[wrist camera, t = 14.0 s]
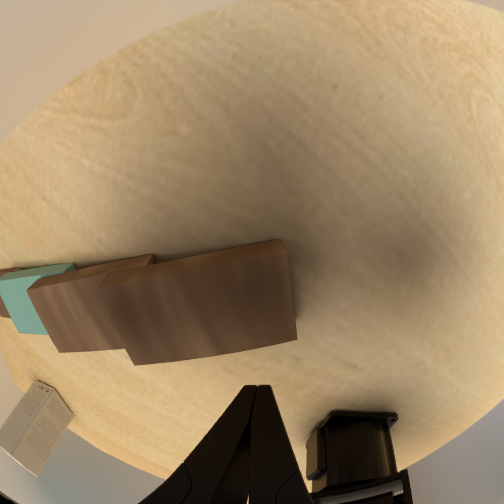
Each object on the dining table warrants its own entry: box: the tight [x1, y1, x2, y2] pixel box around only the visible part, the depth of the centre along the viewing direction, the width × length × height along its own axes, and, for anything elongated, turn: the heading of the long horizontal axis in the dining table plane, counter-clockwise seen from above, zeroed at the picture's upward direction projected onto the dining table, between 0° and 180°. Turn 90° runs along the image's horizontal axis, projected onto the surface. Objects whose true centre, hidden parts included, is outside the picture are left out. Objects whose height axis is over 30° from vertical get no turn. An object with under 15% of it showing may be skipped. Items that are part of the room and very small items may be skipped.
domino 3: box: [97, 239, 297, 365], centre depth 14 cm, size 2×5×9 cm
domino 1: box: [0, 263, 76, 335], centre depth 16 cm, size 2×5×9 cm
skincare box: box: [0, 380, 74, 477], centre depth 20 cm, size 6×4×12 cm
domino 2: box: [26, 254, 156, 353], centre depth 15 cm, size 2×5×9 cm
